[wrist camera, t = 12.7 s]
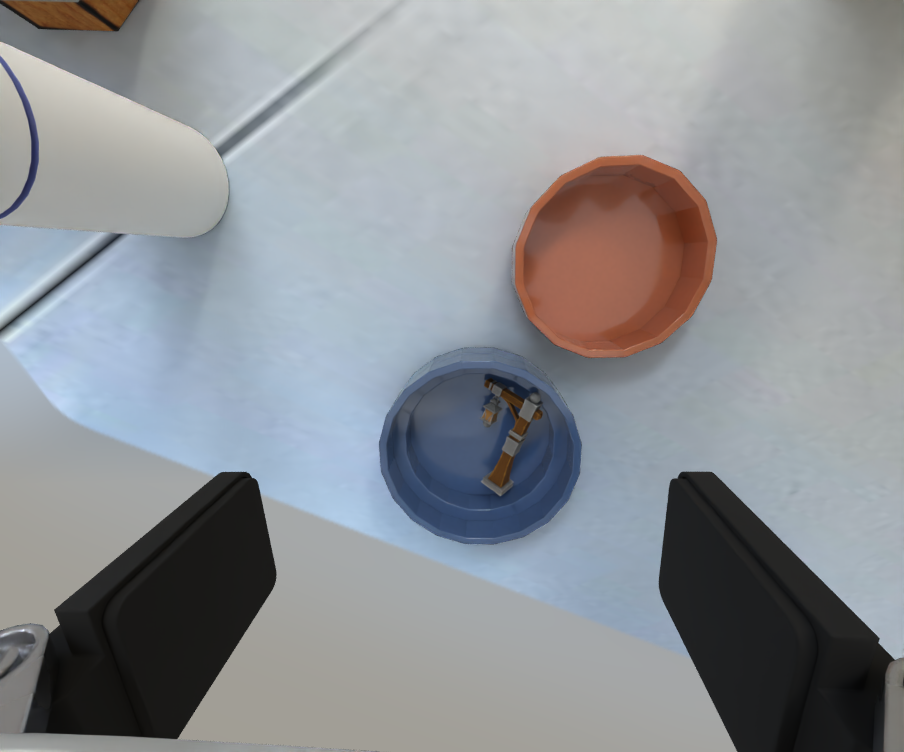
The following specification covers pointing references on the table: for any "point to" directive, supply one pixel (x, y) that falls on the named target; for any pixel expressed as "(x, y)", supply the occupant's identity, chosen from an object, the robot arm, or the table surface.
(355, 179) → the table surface
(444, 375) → the bowl
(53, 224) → the cylindrical container
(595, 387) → the table surface
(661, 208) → the shallow terracotta dish
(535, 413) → the wooden post with brackets
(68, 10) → the mug
